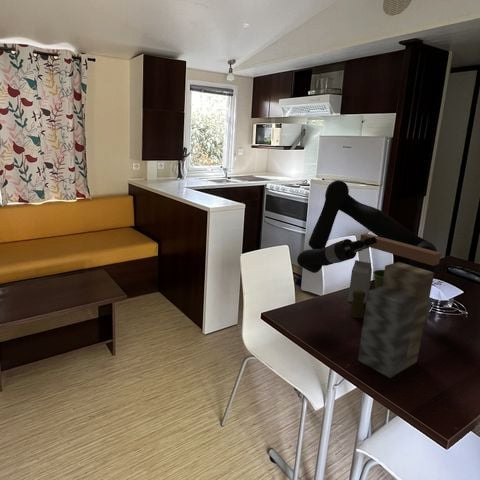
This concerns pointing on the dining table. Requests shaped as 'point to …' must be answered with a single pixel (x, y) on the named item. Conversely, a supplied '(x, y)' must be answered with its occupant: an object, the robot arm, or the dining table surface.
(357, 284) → the milk carton
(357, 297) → the olive cylinder
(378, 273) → the plant pot
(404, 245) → the block
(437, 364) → the dining table surface
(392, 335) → the stepped stand
